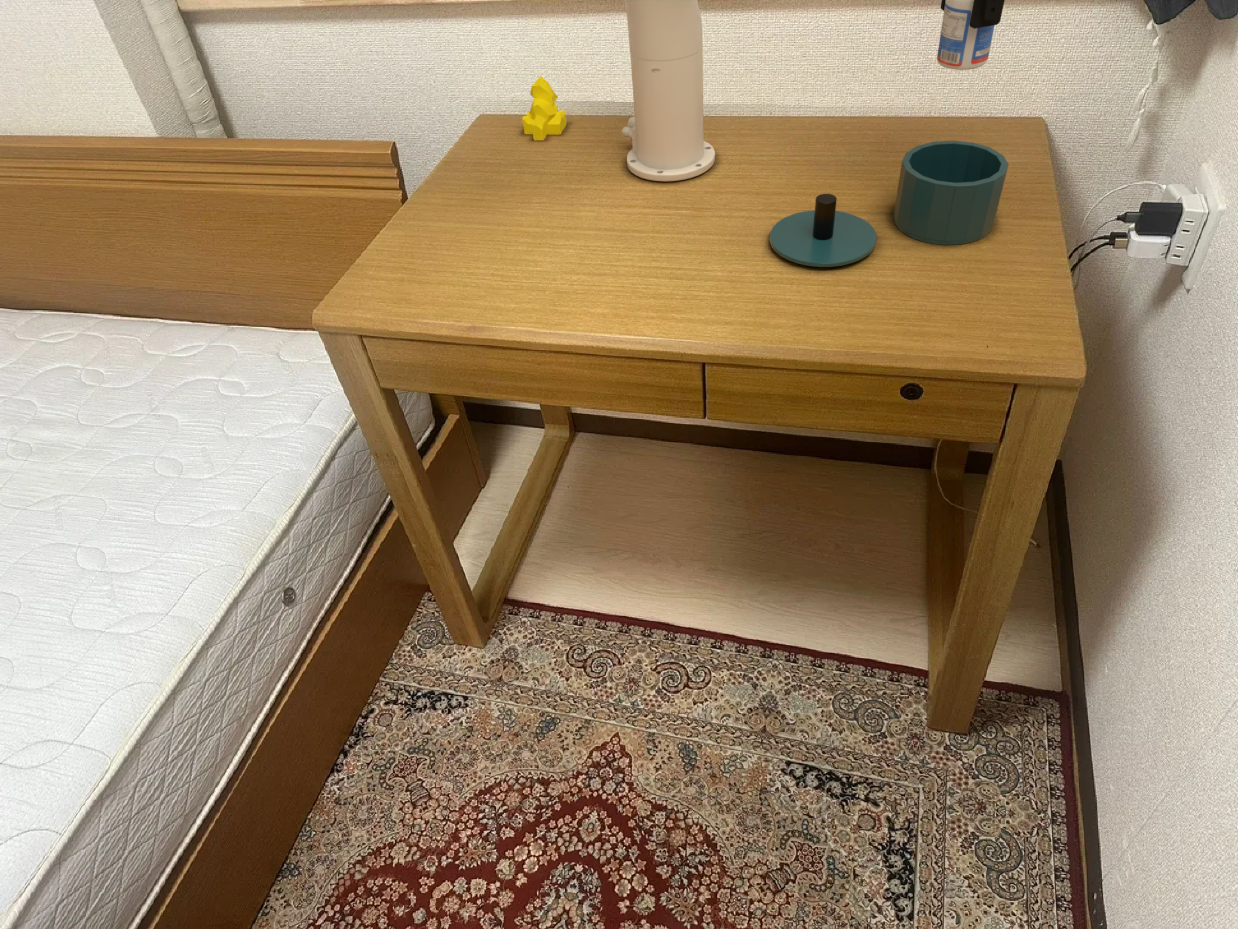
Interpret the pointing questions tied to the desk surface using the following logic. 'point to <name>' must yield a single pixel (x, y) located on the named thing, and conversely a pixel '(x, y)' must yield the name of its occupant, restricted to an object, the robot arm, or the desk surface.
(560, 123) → the yellow irregular lump
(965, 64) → the pill bottle
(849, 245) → the lid
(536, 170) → the desk surface
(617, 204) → the desk surface
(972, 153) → the tin
